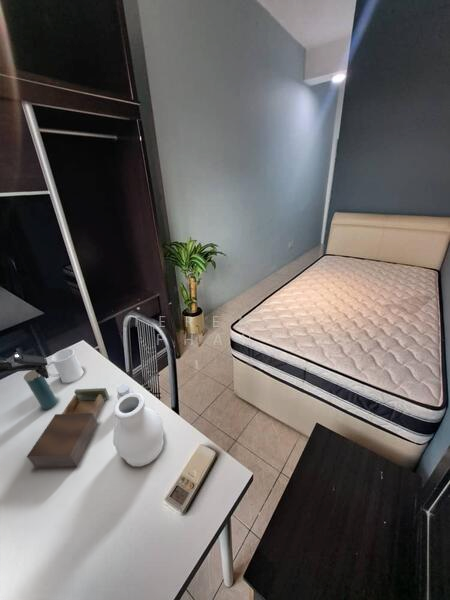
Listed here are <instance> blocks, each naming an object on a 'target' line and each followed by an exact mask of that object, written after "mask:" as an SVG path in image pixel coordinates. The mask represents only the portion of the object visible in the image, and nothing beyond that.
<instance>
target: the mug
mask: <svg viewBox="0 0 450 600" xmlns="http://www.w3.org/2000/svg"><path fill="white" fill-rule="evenodd" d="M51 365H54V368H55V369H56V371H57V374H52V373H49V371H48V368H49V367H50V366H51ZM46 369H47V372H48V376H49V377H53V378H58V377H60V379H61V382H62V383H64V384H69V383H70V384H71V383H73V382H76V381H78V380H79V379H80V378H81V377H82V376H83V375H84V370H83V368H82V366H81V364H80V361H79V359H78V357H77V355H76V353H75V351H74V349H72V348H64V349H60V350H58V351H56V352H55V353H54V354H53V355H52V356H51V361H49V362H48V365H46Z"/></svg>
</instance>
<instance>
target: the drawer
mask: <svg viewBox="0 0 450 600" xmlns="http://www.w3.org/2000/svg"><path fill="white" fill-rule="evenodd" d="M109 399H110V395H109V393H108V390H107V387H103V388H102V387H101V388H79V389H75V390H74V395H73V396H72V398H71V400H70V401H69V402H68V404H67V406H66V407H65V408H64V410H63V411H62V412H61V414H77V413H93V415H94V417H95V419H96V420H97V418H98V416H99V414H100V412H101V410H102V408H103V406H104V404H105V401H106V400H109Z"/></svg>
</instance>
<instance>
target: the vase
mask: <svg viewBox="0 0 450 600" xmlns="http://www.w3.org/2000/svg"><path fill="white" fill-rule="evenodd" d="M113 413H114V416H115V417H116V418H117V419H118V420H117V422H116V425H115V426H114V429H113V435H112V436H113V437H112V438H113V439H112V443H113V446H114V447H115V450H116V452H117V454H118V455H119V456H120V457H121V458H122V459H123V460H125V462H126V463H127V464H129V465H130V466H132V467H144V466H146V465H148V464H150V463H151V462H153V461H154V460H155V459H157V457H158V456H159V455H160V453H161V452H162V449H163V446H164V433H165V431H164V424H163V419H162V416H160V415H159V413H158V412H157V411H156V410H154V409H153V408H150V407H148V406H146V402H145V397H144V396H143V394H141V393H138V392H133V393H130V394H126V395H125V396H123V397H121V398H120V399H119V400H118V399H117V401H116V402H115V404H114V405H113Z"/></svg>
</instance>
